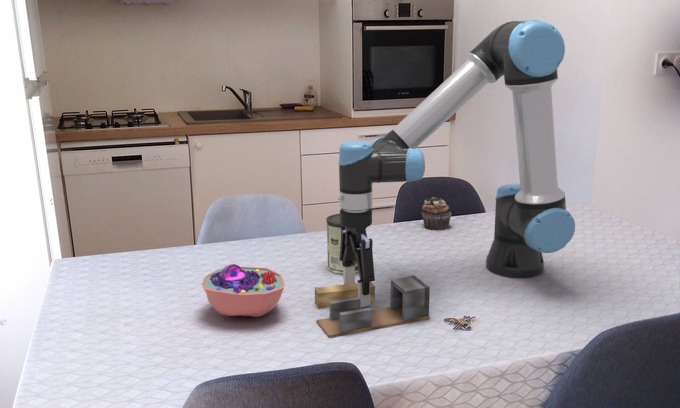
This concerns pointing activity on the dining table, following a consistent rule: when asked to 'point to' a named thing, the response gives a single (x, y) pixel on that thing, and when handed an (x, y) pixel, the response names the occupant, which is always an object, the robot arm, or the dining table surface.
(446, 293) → the dining table surface
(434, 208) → the cupcake
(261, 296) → the cell model
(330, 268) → the coffee can
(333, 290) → the brass rectangular bar
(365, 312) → the cap board
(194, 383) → the dining table surface
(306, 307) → the dining table surface
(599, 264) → the dining table surface
